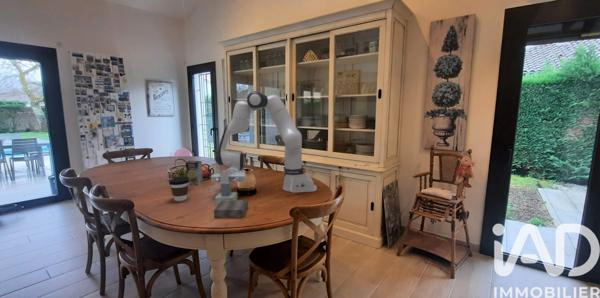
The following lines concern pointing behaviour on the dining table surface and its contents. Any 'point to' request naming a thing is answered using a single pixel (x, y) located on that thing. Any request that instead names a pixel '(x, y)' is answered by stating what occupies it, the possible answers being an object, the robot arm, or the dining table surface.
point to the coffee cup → (179, 188)
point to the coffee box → (194, 172)
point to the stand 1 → (225, 197)
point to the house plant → (183, 174)
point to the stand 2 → (231, 209)
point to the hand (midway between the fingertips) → (225, 181)
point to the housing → (225, 182)
